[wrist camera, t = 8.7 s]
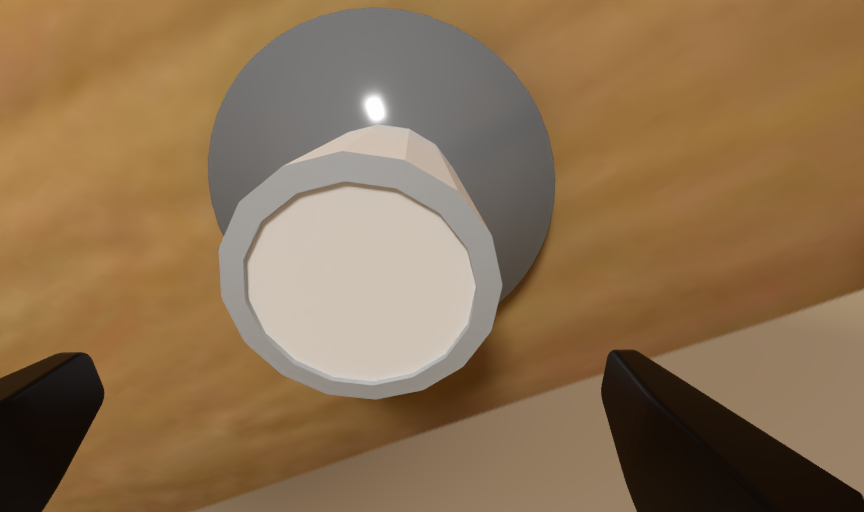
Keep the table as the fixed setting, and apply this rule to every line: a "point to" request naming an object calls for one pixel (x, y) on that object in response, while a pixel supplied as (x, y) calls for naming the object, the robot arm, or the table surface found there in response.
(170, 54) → the table surface
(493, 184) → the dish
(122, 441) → the table surface
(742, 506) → the robot arm
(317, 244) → the white cup
